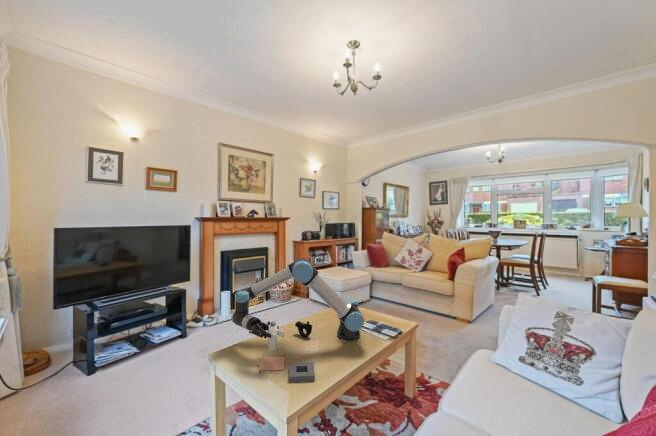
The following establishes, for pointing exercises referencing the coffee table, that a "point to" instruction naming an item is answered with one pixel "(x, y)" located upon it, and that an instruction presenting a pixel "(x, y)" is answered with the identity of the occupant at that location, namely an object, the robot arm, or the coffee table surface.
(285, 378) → the coffee table surface
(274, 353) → the coffee table surface
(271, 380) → the coffee table surface
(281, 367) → the tile
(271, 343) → the plug
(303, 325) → the controller
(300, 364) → the socket block
